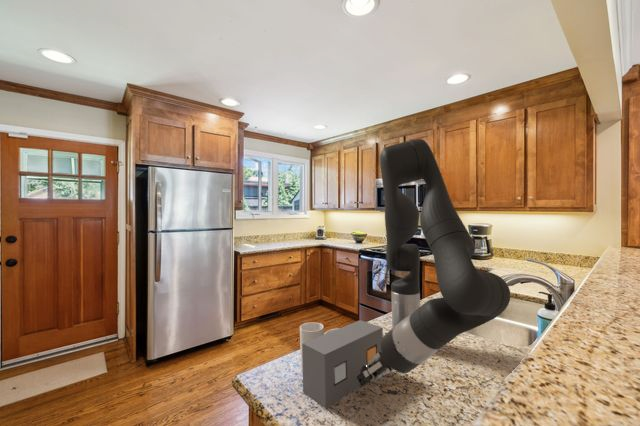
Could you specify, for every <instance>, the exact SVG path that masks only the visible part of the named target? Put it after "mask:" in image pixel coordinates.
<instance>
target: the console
mask: <svg viewBox="0 0 640 426" xmlns="http://www.w3.org/2000/svg"><path fill="white" fill-rule="evenodd" d="M383 328H384V327H382V326H379V325H376V324H373V323H369V322H367V321H365V320H361V319H359V320H357V321H354V322H351V323H349V324H347V325H345V326H342V327H339V329H337V330H334V331H332V332H329V333H327V334H325V333H324V335H322V336H319V337H317V338H314V339H312V340H309V341H307V342H304V343H302V358H303V372H302V393H303V394H304V395H306V396H307V397H309V398H310V399H311V400H313V401H314V402H316V403H317V404H318V405H319V406H321V407H323V408H324V409H328V408H329V407H330V406H332V405H334V404H335V403H337V402H338V401H340V400H341V399H343V398H344V397H346V396H348V395H349V394H350V393H352V392H353V391H355V390H357V389H358V388H360V387H362V386H361V385H360V383H359V381H358V379H357V376H358V375H359V374H360V373H361V372H360V370H361V368H362V367H363V366H366V365H367V364H366V350H367V349H368V348H370V347H372V346H376V354H377V353H378V352H380V351H381V347H380V343H381V339H382V338H383V336H384V335H383V331H384V330H383ZM342 362H345V363H346V378H344V379H343V380H341V381H339V382H338V383H336V384H335V383H334V371H333V367H334V366H336V365H338V364H340V363H342Z"/></svg>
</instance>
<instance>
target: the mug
mask: <svg viewBox="0 0 640 426" xmlns="http://www.w3.org/2000/svg"><path fill="white" fill-rule="evenodd" d="M324 328H325V327H324V325H323V324H322V323H321V322H313V321H312V322H305V323H302V324H301V325H299V347H300V369H301V372H302V373H303V358H302V343H304V342H307V341H309V340H312V339H314V338H317V337H319V336H322V335H324V334H325V332H324Z"/></svg>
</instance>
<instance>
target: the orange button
mask: <svg viewBox="0 0 640 426" xmlns="http://www.w3.org/2000/svg"><path fill="white" fill-rule="evenodd" d="M375 354H376V346H372V347H370V348H368V349H367V350H366V364H367V365H368V362H369V361H371V360H372V359H373V358H374V355H375Z"/></svg>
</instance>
